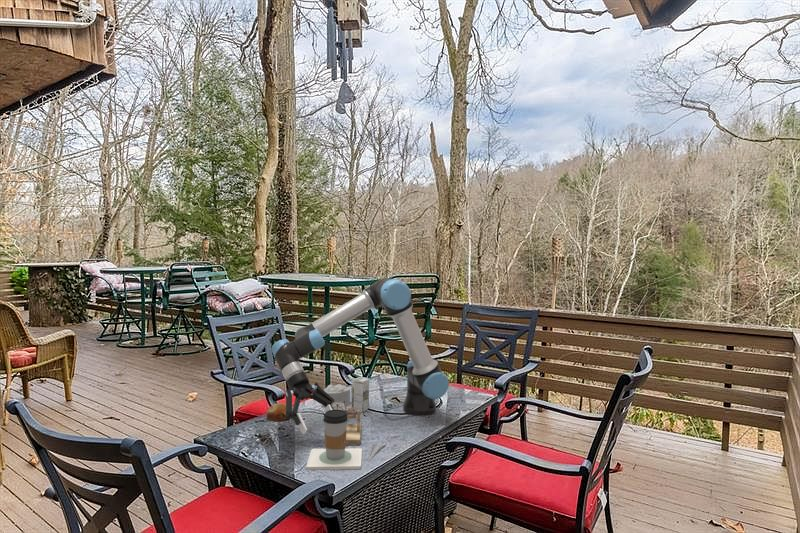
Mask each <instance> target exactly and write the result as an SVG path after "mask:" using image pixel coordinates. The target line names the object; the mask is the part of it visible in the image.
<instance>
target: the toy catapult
mask: <svg viewBox="0 0 800 533" xmlns="http://www.w3.org/2000/svg"><path fill="white" fill-rule="evenodd" d="M346 414H347V418H348V419H350V420H354V419H356V423H347V429H346V430H347V433H346V446H361V445H360V444H361V435H362V423H361V413H360V410H357V411H355V409H354V408H353V407H352V406H351V407H349V408H348V409H347V411H346Z"/></svg>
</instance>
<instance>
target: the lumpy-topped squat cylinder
mask: <svg viewBox="0 0 800 533" xmlns="http://www.w3.org/2000/svg"><path fill="white" fill-rule="evenodd" d="M323 390H324V391H325V392H326V393H327V394H328V395H330V396H331V397H332V398H333V399H334V402H344V401H345V406H349V405H350V404H351V389H350V387H348V386H346V385H342V384H341V383H339V384H336V385H333V384H332V383H331V384H329V385H327V386H326V387H325V388H323ZM334 402H333V403H334ZM333 403H332V404H331V405H333ZM321 405H322V404H321ZM322 408H324V409H325V408H326V407H325V406H324V405H322Z"/></svg>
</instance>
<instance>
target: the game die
mask: <svg viewBox="0 0 800 533" xmlns="http://www.w3.org/2000/svg"><path fill="white" fill-rule="evenodd" d="M332 407H333V409H334V410H344V411H348V409H347V407H346V406H345V401H344V402H334V403H333V405H332Z"/></svg>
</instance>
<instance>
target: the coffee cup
mask: <svg viewBox="0 0 800 533" xmlns="http://www.w3.org/2000/svg"><path fill="white" fill-rule="evenodd" d="M322 421H323V426H324V427H323V428H324V444H325V445H324V446H325V448H324V449H326V456H327V458H328V459H331V460H338V459H341V458H343V457H344V455H345V448H346V447H347V445H346V433H347V430H346V429H347V424H348V418H347V414H346V411H344V410H329V411H327V412H326V411H325V413H324V415H323V420H322Z"/></svg>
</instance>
